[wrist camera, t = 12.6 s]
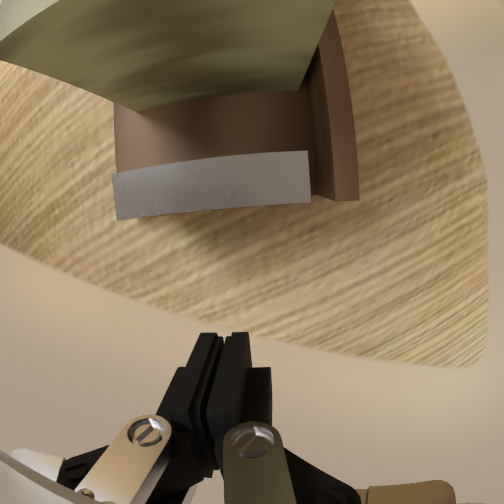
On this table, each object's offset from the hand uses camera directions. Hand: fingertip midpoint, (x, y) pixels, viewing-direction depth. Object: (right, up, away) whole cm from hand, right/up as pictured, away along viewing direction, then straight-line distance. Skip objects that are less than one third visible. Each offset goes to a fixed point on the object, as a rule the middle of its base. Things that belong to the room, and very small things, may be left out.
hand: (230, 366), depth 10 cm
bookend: (-1, +8, +5) cm, 9 cm away
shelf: (-2, +18, +3) cm, 18 cm away
